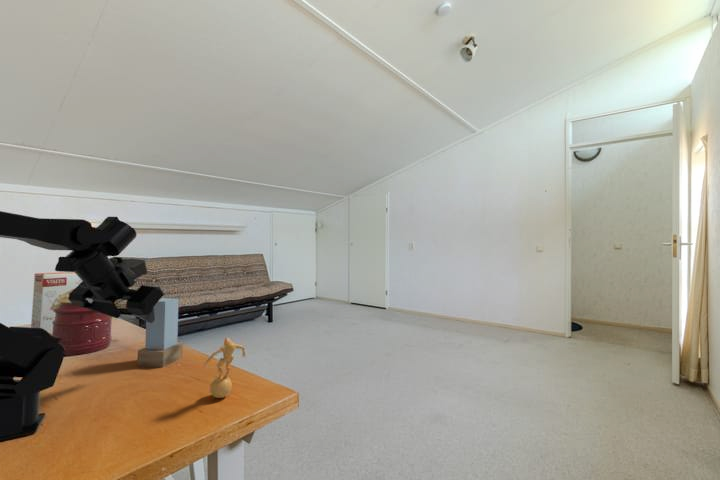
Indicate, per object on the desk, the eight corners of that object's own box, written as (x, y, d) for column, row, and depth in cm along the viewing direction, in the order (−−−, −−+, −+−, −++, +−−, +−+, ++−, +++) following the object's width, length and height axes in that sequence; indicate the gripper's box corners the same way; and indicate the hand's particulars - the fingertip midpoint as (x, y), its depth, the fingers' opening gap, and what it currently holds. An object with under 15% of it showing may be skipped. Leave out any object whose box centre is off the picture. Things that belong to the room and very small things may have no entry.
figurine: (235, 387, 68) (237, 330, 68) (250, 396, 64) (252, 335, 64) (194, 401, 61) (196, 338, 62) (208, 411, 57) (210, 344, 58)
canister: (78, 358, 83) (81, 290, 84) (37, 354, 85) (40, 288, 86) (122, 343, 96) (125, 285, 97) (85, 341, 98) (88, 283, 99)
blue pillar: (163, 349, 80) (165, 301, 80) (145, 349, 80) (146, 301, 81) (177, 344, 85) (178, 298, 85) (159, 343, 85) (161, 298, 86)
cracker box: (39, 346, 92) (42, 273, 93) (29, 343, 95) (33, 273, 95) (95, 335, 105) (98, 271, 106) (85, 332, 107) (88, 270, 108)
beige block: (163, 368, 78) (163, 352, 78) (137, 366, 79) (137, 350, 79) (182, 359, 85) (182, 343, 85) (158, 357, 86) (158, 342, 86)
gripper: (163, 249, 69) (191, 297, 79) (91, 242, 72) (126, 288, 82) (126, 288, 61) (162, 335, 71) (45, 278, 64) (91, 324, 74)
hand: (135, 318), depth 75 cm, fingers open, 9 cm apart
